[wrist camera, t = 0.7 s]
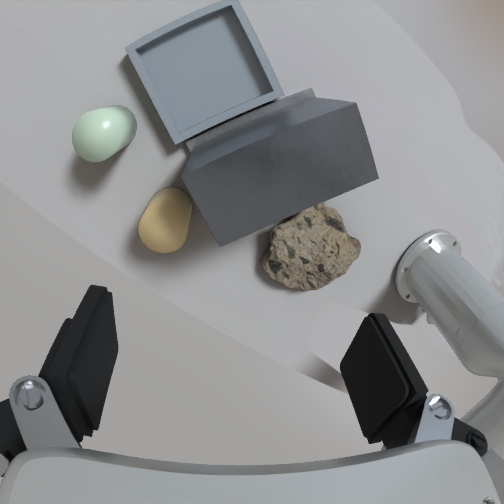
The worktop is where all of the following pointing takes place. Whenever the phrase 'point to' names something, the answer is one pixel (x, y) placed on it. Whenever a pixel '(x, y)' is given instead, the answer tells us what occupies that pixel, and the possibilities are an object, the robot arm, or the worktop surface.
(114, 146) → the mint green rounded cylinder
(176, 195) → the tan rounded capsule
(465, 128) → the worktop surface
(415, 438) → the robot arm
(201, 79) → the tray
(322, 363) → the worktop surface
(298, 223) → the rock
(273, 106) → the panel
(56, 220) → the worktop surface
